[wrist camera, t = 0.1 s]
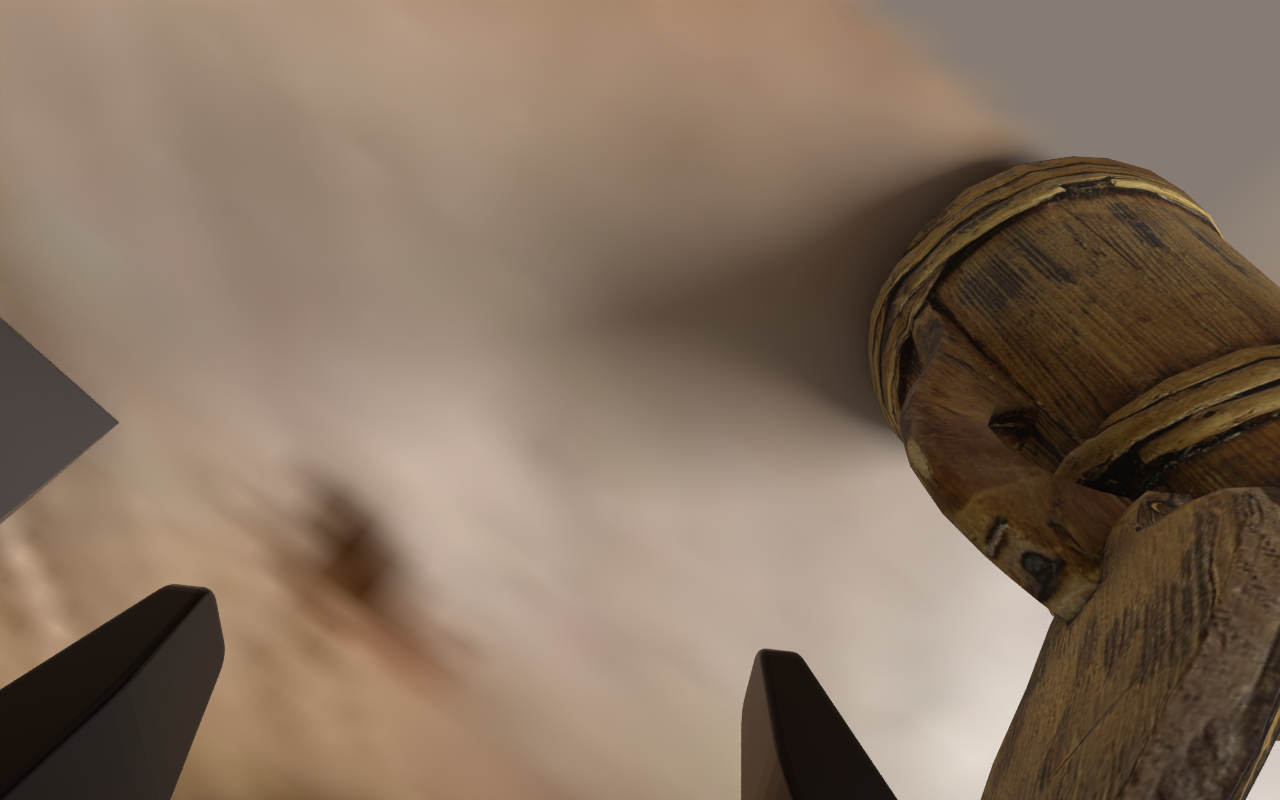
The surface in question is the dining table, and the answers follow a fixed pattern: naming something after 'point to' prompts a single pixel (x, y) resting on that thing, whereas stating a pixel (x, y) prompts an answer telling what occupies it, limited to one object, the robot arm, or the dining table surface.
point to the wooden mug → (1104, 466)
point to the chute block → (39, 421)
